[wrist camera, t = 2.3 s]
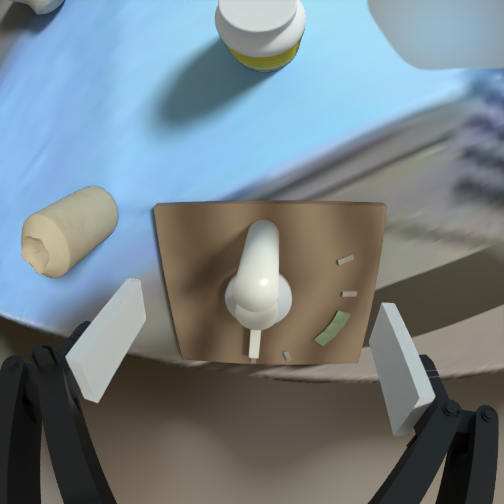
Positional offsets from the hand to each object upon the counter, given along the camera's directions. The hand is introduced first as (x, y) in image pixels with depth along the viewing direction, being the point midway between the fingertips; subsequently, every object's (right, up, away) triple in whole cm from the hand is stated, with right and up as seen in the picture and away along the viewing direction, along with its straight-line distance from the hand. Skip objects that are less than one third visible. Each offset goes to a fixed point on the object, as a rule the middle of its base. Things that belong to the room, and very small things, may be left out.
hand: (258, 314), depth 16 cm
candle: (-16, +7, +12) cm, 21 cm away
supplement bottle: (+1, +20, +4) cm, 20 cm away
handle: (0, 0, +13) cm, 13 cm away
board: (+1, -1, +14) cm, 14 cm away
